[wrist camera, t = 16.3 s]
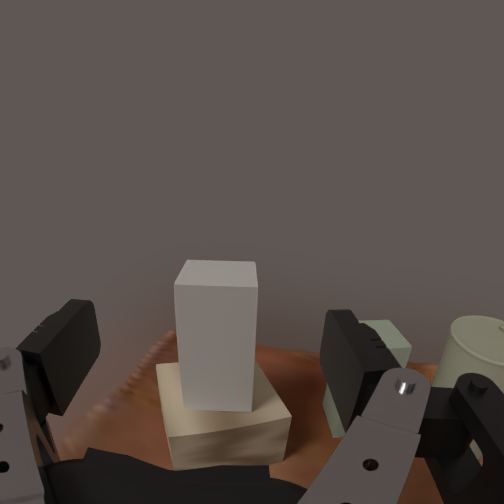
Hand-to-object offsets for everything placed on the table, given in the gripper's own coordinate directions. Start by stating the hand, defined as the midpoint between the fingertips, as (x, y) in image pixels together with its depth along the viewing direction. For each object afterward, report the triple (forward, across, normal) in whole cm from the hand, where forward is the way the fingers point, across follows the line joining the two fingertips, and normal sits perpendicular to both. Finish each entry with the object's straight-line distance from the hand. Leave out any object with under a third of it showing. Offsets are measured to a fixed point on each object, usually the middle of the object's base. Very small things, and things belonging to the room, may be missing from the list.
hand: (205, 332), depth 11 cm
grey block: (+11, 0, +12) cm, 16 cm away
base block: (+11, 0, +18) cm, 21 cm away
